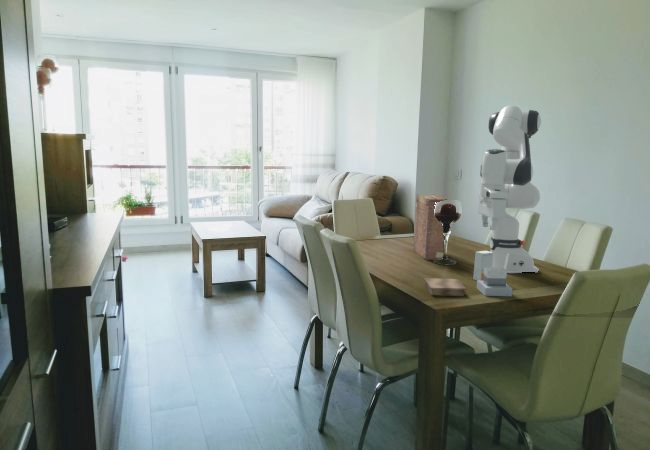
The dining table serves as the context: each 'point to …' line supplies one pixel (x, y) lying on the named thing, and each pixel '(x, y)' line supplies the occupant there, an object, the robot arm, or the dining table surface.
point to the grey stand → (494, 289)
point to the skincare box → (482, 264)
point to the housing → (495, 276)
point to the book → (428, 229)
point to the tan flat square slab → (444, 287)
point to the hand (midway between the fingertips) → (488, 228)
